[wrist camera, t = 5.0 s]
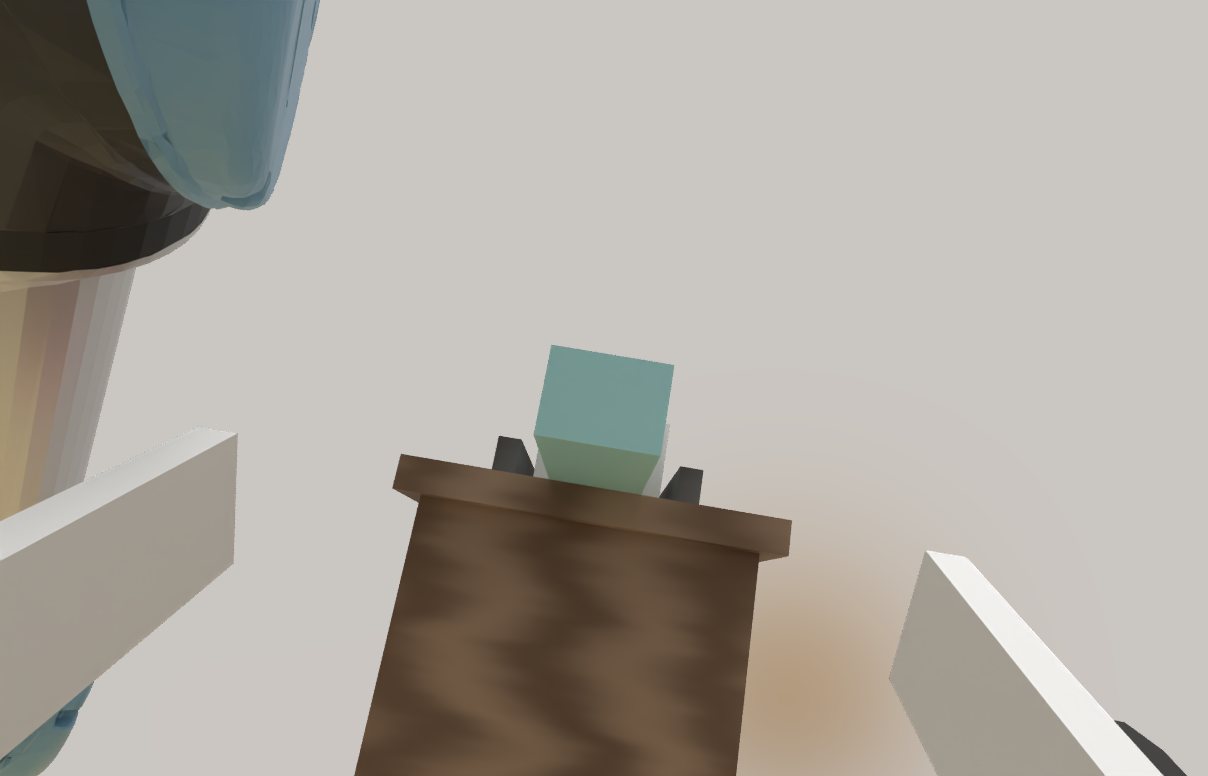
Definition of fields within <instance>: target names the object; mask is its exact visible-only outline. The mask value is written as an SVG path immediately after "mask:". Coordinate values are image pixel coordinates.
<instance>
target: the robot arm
mask: <svg viewBox="0 0 1208 776" xmlns="http://www.w3.org/2000/svg"><path fill="white" fill-rule="evenodd" d="M319 2H320V0H0V776H37V775H39V774H40V773H41V772H43V771H44V770H45V769H46V768H47V767H48V766H49V765H50V764H51V763H52V761H53V760H54V759H55V757H56V756H57V755H58V753H59V751H60V750H61V748H62V746H63V745H64V743H65V742H66V740H67V738H68V736H69V734H70V732H71V730H72V728H73V726H74V724H75V721H76V718H77V715H78V710H79V709H80V707H82V705H83V703H84V701H85V700H86V698H87V696H88V694H89V692H90V690H91V687H92V685H93V683H94V680H96V679H97V678H98V677H99V676H100V675H102V674H103V673H104V672H105V671H106V670H108V669H109V668H110V667H111V666H112V665H113V664H115V663H116V662H117V661H118V660H119V659H121V658H122V657H123V656H124V655H125V654H126V653H128V652H129V651H130V650H131V649H132V648H134V647H135V646H136V645H137V644H138V643H139V642H141V641H142V640H143V639H144V638H145V637H147V636H148V635H149V634H150V633H151V632H153V631H154V630H155V629H156V628H157V627H159V626H160V625H161V624H162V623H163V622H165V621H166V620H167V619H168V618H169V617H170V616H172V615H173V614H174V613H175V612H176V611H178V610H179V609H180V608H181V607H182V606H184V605H185V604H186V603H187V602H188V601H189V600H191V599H192V598H193V597H194V596H195V595H197V594H198V593H199V592H200V591H201V590H202V589H204V588H205V587H206V586H207V585H208V584H209V583H211V582H212V581H213V580H214V579H215V578H217V577H218V576H219V575H220V574H222V573H223V572H224V571H225V570H226V569H227V568H229V567H230V566H231V565H232V564H233V557H234V529H235V526H234V525H235V498H236V495H235V494H236V466H237V435H238V434H237V433H233V432H227V431H221V430H215V429H209V428H204V427H197V428H195V429H193V430H191V431H188V432H186V433H184V434H182V435H180V436H178V437H176V438H174V439H172V440H170V441H168V442H165V443H163V444H161V445H159V446H157V447H155V448H153V449H151V450H148V451H147V452H144V453H142V454H140V455H138V456H136V457H134V458H132V459H130V460H128V461H125V462H123V463H121V464H119V465H117V466H115V467H113V468H111V469H109V470H107V471H105V472H102V473H100V474H98V475H96V476H94V477H92V478H90V479H88V480H86V481H84V477H85V473H86V469H87V465H88V461H89V457H90V453H91V449H92V445H93V441H94V437H95V433H96V428H97V424H98V420H99V416H100V412H101V408H102V404H103V400H104V396H105V392H106V388H107V384H108V379H109V375H110V371H111V367H112V363H113V359H114V355H115V351H116V347H117V343H118V339H119V335H120V330H121V327H122V322H123V318H124V314H125V310H126V306H127V302H128V298H129V294H130V290H131V286H132V282H133V278H134V273H135V269H136V267H138V266H141V265H144V264H148V263H150V262H152V261H154V260H156V259H159V258H161V257H163V256H165V255H167V254H169V253H171V252H172V251H174V250H175V249H177V248H178V247H180V246H182V245H183V244H185V243H186V242H187V241H188V240H189V239H190V238H191V237H192V236H193V235H194V234H195V233H196V232H197V231H198V230H199V229H200V227H201V226H202V224H203V222H204V221H205V219H206V218H207V216H208V214H209V212H210V209H211V208H215V209H221V208H226V207H232V208H235V209H241V210H252V209H255V208H258V207H260V206H262V205H264V204H265V203H266V202H267V201H268V199H269V198H270V196H271V194H272V193H273V191H274V187H275V184H276V182H277V180H278V177H279V174H280V170H281V167H282V162H283V159H284V155H285V152H286V148H287V144H288V141H289V137H290V134H291V130H292V126H293V121H294V117H295V113H296V108H297V104H298V99H299V92H300V87H301V83H302V79H303V75H304V69H305V65H306V61H307V55H308V48H309V45H310V42H311V39H312V35H313V30H314V26H315V21H316V18H317V12H318V7H319ZM83 481H84V482H83ZM889 680H890V682H891V684H892V686H893V688H894V690H895V692H896V693H897V696H898V697H899V700H900V702H901V703H902V706H903V708H904V710H905V712H906V714H907V716H908V718H909V720H910V722H911V724H912V726H913V727H914V729H915V731H916V733H917V735H918V737H919V739H920V741H921V743H922V745H923V747H924V749H925V751H926V753H927V755H928V757H929V759H930V761H931V763H932V765H933V767H934V769H935V771H936V773H937V775H938V776H1187V775H1186V774H1185V773H1184V772H1183V771H1182V770H1181V769H1180V768H1179V767H1178V766H1177V765H1176V764H1175V763H1174V762H1173V760H1172V759H1171V758H1170V757H1169V756H1168V755H1167V754H1166V753H1165V752H1164V751H1163V750H1162V749H1160V748H1159V747H1158V746H1156V745H1155V744H1153V743H1152V742H1151V741H1149V740H1148V739H1147V738H1145V737H1144V736H1143V735H1141V734H1140V733H1138V732H1137V731H1136V730H1134V729H1133V728H1131V727H1130V726H1129V725H1127V724H1126V723H1124V722H1120V721H1114V720H1113V719H1112V718H1111V717H1110V716H1109V715H1108V714H1107V713H1106V711H1105V710H1104V709H1103V708H1102V707H1101V706H1100V705H1099V704H1098V703H1097V702H1096V700H1095V699H1094V698H1093V697H1092V696H1091V695H1090V694H1089V693H1088V691H1087V690H1086V689H1085V688H1084V687H1083V686H1082V685H1081V684H1080V683H1079V681H1078V680H1077V679H1076V678H1075V677H1074V676H1073V675H1072V674H1071V673H1070V671H1069V670H1068V669H1067V668H1066V667H1065V666H1064V665H1063V664H1062V663H1061V662H1060V661H1059V659H1058V658H1057V657H1056V656H1055V655H1054V654H1053V653H1052V652H1051V650H1050V649H1049V648H1048V647H1047V646H1046V645H1045V644H1044V643H1043V641H1042V640H1041V639H1040V638H1039V637H1038V636H1037V635H1036V634H1035V633H1034V632H1033V630H1032V629H1031V628H1030V627H1029V626H1028V625H1027V624H1026V623H1025V621H1024V620H1022V618H1021V617H1020V616H1019V615H1018V614H1017V613H1016V611H1014V609H1013V608H1012V607H1011V606H1010V605H1009V604H1008V603H1007V601H1006V600H1005V599H1004V598H1003V597H1002V596H1001V595H1000V594H999V593H998V591H997V590H996V589H995V588H994V587H993V586H992V585H991V584H990V583H989V582H988V580H987V579H986V578H985V577H984V576H983V575H982V574H981V573H980V571H978V569H977V568H976V567H975V566H974V565H973V564H972V563H971V561H970V560H969V559H968V558H967V557H962V556H956V555H950V554H944V553H939V552H933V551H927V550H926V551H925V554H924V558H923V561H922V564H921V568H920V571H919V575H918V578H917V582H916V585H915V589H914V592H913V596H912V599H911V602H910V606H909V609H908V613H907V616H906V620H905V623H904V627H903V630H902V634H901V637H900V641H899V644H898V648H897V651H896V655H895V658H894V662H893V665H892V669H891V672H890V676H889Z"/></svg>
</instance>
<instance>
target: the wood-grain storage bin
mask: <svg viewBox="0 0 1208 776" xmlns="http://www.w3.org/2000/svg"><path fill="white" fill-rule="evenodd" d="M533 475H534V467H533V465H532V463H531V460H530V458H529V456H528V453H527V451H526V449H525V446H524V444H523V442H522V440H521V439H515V438H509V437H503V436H499V438H498V443H497V448H496V452H495V457H494V462H493V466H492V469H486V468H480V467H474V466H469V465H463V464H457V463H451V462H445V461H439V460H433V459H427V458H422V457H415V456H409V455H404V454H401V456H400V460H399V464H398V468H397V472H396V476H395V480H394V484H393V489H395V490H397V491H398V492H400V493H402V494H404V495H406V496H408V497H409V498H411V499H413V500H415V501H417V502H418V503H419V504H418V508H417V513H416V517H415V521H414V525H413V529H412V534H411V538H410V542H409V546H408V551H407V555H406V559H405V563H404V568H403V572H402V576H401V580H400V584H399V589H398V593H397V597H396V602H395V606H394V610H393V614H392V618H391V623H390V627H389V631H388V635H387V639H386V644H385V648H384V652H383V656H382V661H381V665H380V669H379V673H378V678H377V682H376V686H375V690H374V695H373V699H372V703H371V707H370V712H369V716H368V720H367V724H366V728H365V733H364V737H363V741H362V745H361V749H360V754H359V758H358V762H357V766H356V771H355V775H354V776H736V770H737V761H738V751H739V742H740V733H741V723H742V714H743V704H744V695H745V686H746V685H745V684H746V675H747V666H748V657H749V648H750V638H751V629H752V620H753V610H754V601H755V591H756V582H757V572H758V563H759V562H761V561H767V560H771V559H777V558H782V557H786V556H788V555H789V545H790V535H791V524H792V521H791V520H786V519H780V518H774V517H768V516H762V515H756V514H751V513H745V512H739V511H733V510H726V509H721V508H715V507H709V506H704V505H699V500H700V492H701V484H702V476H703V470H698V469H693V468H687V467H680V468H679V469H678V471H677V472H676V474H675V475H674V476H673V478H672V479H671V481H670V482H669V484H668V485H667V487H666V488H665V489H664V491H663V492H662V493H661V495H660V496H659V498H657V497H651V496H645V495H639V494H633V493H627V492H621V491H616V490H610V489H604V488H598V487H592V486H586V485H580V484H574V483H568V482H563V481H557V480H551V479H545V478H539V477H533Z"/></svg>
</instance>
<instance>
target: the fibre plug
mask: <svg viewBox="0 0 1208 776" xmlns="http://www.w3.org/2000/svg"><path fill="white" fill-rule="evenodd" d="M673 370H674V365H670V364H664V363H658V362H652V361H646V360H640V359H634V358H628V357H621V356H616V355H609V354H603V353H598V352H592V351H585V350H580V349H573V348H567V347H561V346H555V345H552V346H551V350H550V355H549V360H548V365H547V371H546V375H545V380H544V386H543V391H542V396H541V401H540V406H539V411H538V416H537V421H536V426H535V431H534V437H535V440H536V443H537V446H538V448H539V450H538V454H537V460H536V465H535V470H534V475H533V477H539V478H545V479H551V480H557V481H563V482H568V483H574V484H580V485H586V486H592V487H598V488H604V489H610V490H616V491H621V492H627V493H633V494H639V495H645V496H651V497H657V498H659V494H660V488H661V481H662V474H663V468H664V461H665V453H666V448H667V441H668V433H669V427H670V425H669V424H666V417H667V410H668V404H669V397H670V390H671V384H672V377H673Z"/></svg>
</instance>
